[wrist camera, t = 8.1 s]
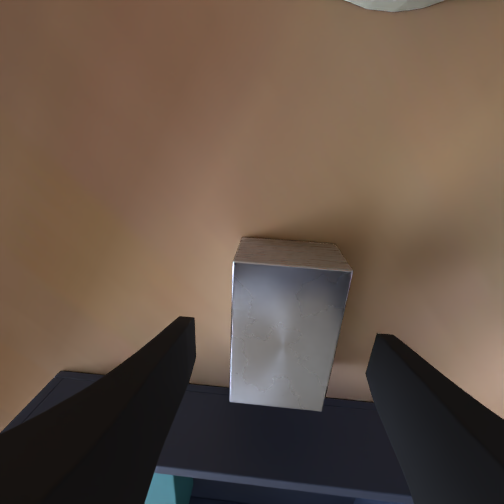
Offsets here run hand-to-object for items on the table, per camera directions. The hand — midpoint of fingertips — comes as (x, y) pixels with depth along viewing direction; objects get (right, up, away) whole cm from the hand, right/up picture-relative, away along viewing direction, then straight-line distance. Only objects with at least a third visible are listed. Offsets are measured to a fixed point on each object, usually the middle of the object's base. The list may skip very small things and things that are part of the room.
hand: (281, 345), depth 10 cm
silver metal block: (0, +1, +3) cm, 3 cm away
